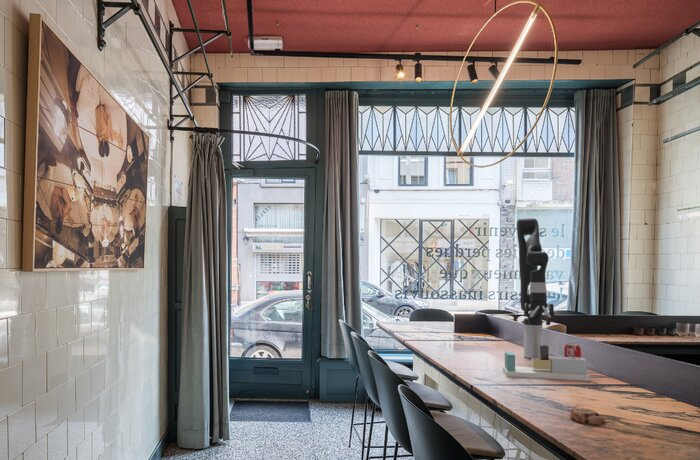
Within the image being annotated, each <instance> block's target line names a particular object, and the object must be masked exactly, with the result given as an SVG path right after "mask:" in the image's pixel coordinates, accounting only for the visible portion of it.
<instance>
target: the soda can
mask: <svg viewBox="0 0 700 460" xmlns="http://www.w3.org/2000/svg"><path fill="white" fill-rule="evenodd" d="M581 350H582V349H581V347H580V344H578V343H574V342H573V343H570V342H567V343H565V346H564V350H563V351H564V353H563V354H564V356H563V357H581V358H582V351H581Z"/></svg>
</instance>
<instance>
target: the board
mask: <svg viewBox="0 0 700 460" xmlns="http://www.w3.org/2000/svg"><path fill="white" fill-rule="evenodd" d="M502 372H503V373H504V375H505V377H511V378H526V379H527V378H532V379H547V380H549V379H550V380H564V381H565V380H566V381H567V380H568V381H584V382H585V381H586V382H590V381H591V375H589V374H588V373H587V374H568V373H552V372H551V371H550V370H546V369H533V368H532V366H531V367H530V366H515V371H507V369H506V368H505V365H502Z"/></svg>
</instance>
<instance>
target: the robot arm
mask: <svg viewBox="0 0 700 460" xmlns="http://www.w3.org/2000/svg"><path fill="white" fill-rule="evenodd" d="M539 228H540V226H539V222H538V220H537V219H536V218H534V217H532V218H528V217H527V218H525V217H524V218H518V219H517V221H516V231H517V233H516V234H517V242H518V257H519V258H518V263H519V265H518V267H519V276H520V300H519V301H520V308H521V310H522V311H523V315H524V316H526V317H525V318H524V319H523V355H524V356H523V357H525V358H528V359H532V358H540V345H544V343H543V342H544V341H543V340H544V339H543V334H544V333H543V315H544V316H545V325H546V326H550V325H551V318H552V317H554V316H555V308H554V304H553V303H547V301H548V300H547V297H548V296H547V291H548V290H547V283H546V270H547V266H548V264H549V263H548V262H549V254H548V253H547V252H545V251H543V248H542V244H541V241H540V240H541V239H540V229H539ZM525 236H529V237H528V238H527V239H526V238H525ZM539 266H540V267H539ZM538 267H539V268H538ZM528 289H529V290H528ZM528 291H529V293H528ZM547 309H548V310H547Z"/></svg>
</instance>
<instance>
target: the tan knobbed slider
mask: <svg viewBox="0 0 700 460" xmlns="http://www.w3.org/2000/svg"><path fill="white" fill-rule="evenodd" d="M549 349H550V347H549V345H547V344H543V345H540V358H531V367H532V368H533V369H546V370H552V360H551V359H549V356H550V355H549V354H550V353H549Z"/></svg>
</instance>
